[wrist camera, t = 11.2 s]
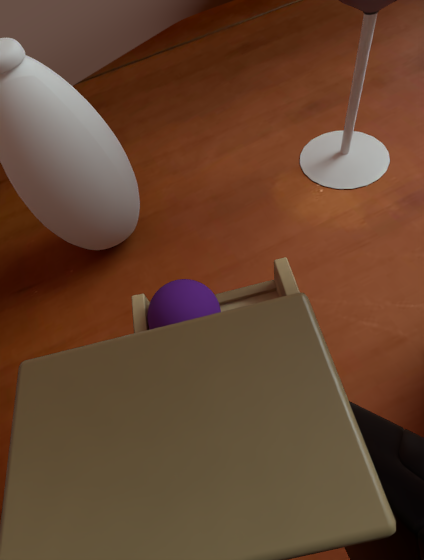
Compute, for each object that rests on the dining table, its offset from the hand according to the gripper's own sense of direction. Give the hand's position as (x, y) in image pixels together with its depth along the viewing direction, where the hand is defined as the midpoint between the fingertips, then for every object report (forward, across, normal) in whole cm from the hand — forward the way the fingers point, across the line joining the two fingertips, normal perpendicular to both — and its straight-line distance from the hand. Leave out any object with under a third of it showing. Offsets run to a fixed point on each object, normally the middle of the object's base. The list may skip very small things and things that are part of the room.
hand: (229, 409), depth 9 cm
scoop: (+6, 0, +3) cm, 7 cm away
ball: (+7, +1, -1) cm, 7 cm away
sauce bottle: (+23, +8, -4) cm, 25 cm away
